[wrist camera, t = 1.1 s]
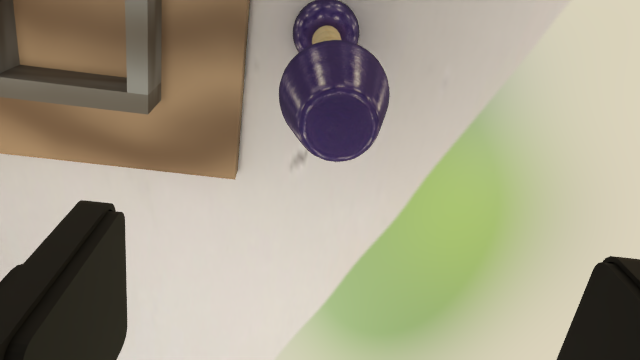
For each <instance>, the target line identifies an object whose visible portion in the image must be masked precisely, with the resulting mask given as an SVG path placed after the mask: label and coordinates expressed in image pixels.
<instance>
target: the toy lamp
mask: <svg viewBox="0 0 640 360" xmlns="http://www.w3.org/2000/svg"><path fill="white" fill-rule="evenodd" d="M358 38H359V26H358V21H357V19H356V17H355V15H354V13H353V12H352V10H351V9H350V8H349V7H348V6H347V5H345V4H344V3H342V2H340V1H337V0H315V1H313V2H311V3H309V4H308V5H307V6H305V7H304V8H303V9H302V10H301V11H300V13H299V15H298V16H297V18H296V20H295V23H294V27H293V39H294V43H295V46H296V48H297V50H298V52H299V53H298V54H297V55H296V56H295V57H294V58H293V59H292V60H291V61H290V63H289V64H288V66H287V67H286V69H285V71H284V73H283V76H282V79H281V82H280V87H279V101H280V107H281V111H282V114H283V116H284V119H285V121H286V122H287V124H288V126H289V127H290V129H291V130H292V131H293V133H294V134H295V135H296V137H297V138H298V139H299V141H300V142H301V143H302V144H303V145H304V147H305V148H306V149H307V150H308V151H309V152H311V153H312V154H313V155H315V156H317V157H319V158H321V159H324V160H327V161H334V162H340V161H347V160H351V159H354V158H356V157H358V156H360V155H361V154H363V153H364V152H365V151H366V150H368V149H369V148H370V146H371V145H372V144H373V142H374V141H375V139H376V138H377V136H378V133H379V131H380V128H381V125H382V123H383V120H384V117H385V114H386V111H387V108H388V103H389V86H388V80H387V77H386V74H385V72H384V70H383V67H382V66H381V64H380V63H379V61H378V60H377V59H376V58H375V57H374V55H372V54H371V53H370V52H369V51H367V50H366V49H364V48H363V47H361V46H359V45H357V43H358Z"/></svg>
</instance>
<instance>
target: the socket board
mask: <svg viewBox="0 0 640 360" xmlns="http://www.w3.org/2000/svg"><path fill="white" fill-rule="evenodd" d="M249 3H250V0H0V153H2V154H11V155H20V156H29V157H38V158H47V159H56V160H65V161H74V162H83V163H92V164H101V165H110V166H119V167H128V168H137V169H146V170H155V171H164V172H173V173H182V174H191V175H200V176H209V177H218V178H227V179H235V177H236V174H237V171H238V157H239V143H240V129H241V115H242V101H243V87H244V73H245V59H246V45H247V31H248V17H249Z"/></svg>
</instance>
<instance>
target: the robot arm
mask: <svg viewBox="0 0 640 360" xmlns="http://www.w3.org/2000/svg"><path fill="white" fill-rule="evenodd" d="M126 332H127V294H126V250H125V217H124V214H123V212H115V207H114V205H113V204H111V203H102V202H92V201H79V202H78V203H77V204H76V205H75V207H74V208H73V209H72V210H71V211H70V212H69V213H68V214H67V215H66V217H65V218H64V219H63V220H62V221H61V222H60V223H59V224H58V226H57V227H56V228H55V229H54V230H53V231H52V232H51V233H50V235H49V236H48V237H47V238H46V239H45V240H44V241H43V242H42V244H41V245H40V246H39V247H38V248H37V249H36V250H35V251H34V253H33V254H32V255H31V256H30V257H29V258H28V259H27V260H26V262H25V263H24V264H21V265H17V266H16V267H15V268H13V269H12V270H11V271H10V272H9V273H8V274H7V275H6V276H5V277H4V279H3V280H2V281H1V282H0V360H116V359H117V357H118V355H119V353H120V351H121V349H122V346H123V344H124V341H125V337H126ZM557 360H640V260H639V259H631V258H621V257H612V256H610V257H608V258H606V259H605V260H604V261H603V262H602V263H598V264H597V265H596V266H595V268H594V269H593V272H592V274H591V277H590V279H589V282H588V284H587V286H586V289H585V291H584V294H583V296H582V299H581V301H580V304H579V307H578V309H577V311H576V313H575V316H574V318H573V321H572V323H571V326H570V328H569V331H568V333H567V336H566V338H565V341H564V343H563V346H562V348H561V350H560V353H559V355H558V358H557Z"/></svg>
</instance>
